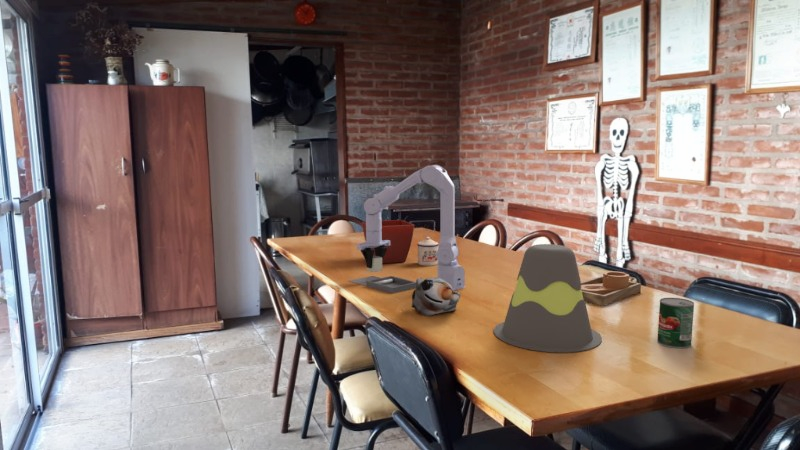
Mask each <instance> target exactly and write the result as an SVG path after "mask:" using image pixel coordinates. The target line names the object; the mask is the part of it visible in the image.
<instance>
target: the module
mask: <svg viewBox="0 0 800 450" xmlns="http://www.w3.org/2000/svg"><path fill="white" fill-rule="evenodd" d="M366 271H368V272H369V273H371V272H372V273H378V272H382V271H383V263H382V257H379V256H373V258H372V268H367V267H366Z"/></svg>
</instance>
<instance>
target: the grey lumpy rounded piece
mask: <svg viewBox="0 0 800 450" xmlns="http://www.w3.org/2000/svg"><path fill="white" fill-rule="evenodd" d="M415 282H416V288H414V289H413V291H412V295H411V303H412V304H411V307H412V308H413V309H414V310H415V311H416V313H417V314H419V315H423V316H427V315H428V317H431V316H434V315H436V314H437V315H438V314H440V313H447V312H455V311H456V310H457V305H458V303H459V300H460V298H461V292H459V291H457V290H454V291H453V288H452V286H451V285H450V284H449V283H448V282H446V281H445V280H443V279H441V278H437V277H428V278H425V279H423V278H422V277H418V278H417V279H416V281H415Z"/></svg>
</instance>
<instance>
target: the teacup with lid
mask: <svg viewBox="0 0 800 450" xmlns="http://www.w3.org/2000/svg"><path fill="white" fill-rule="evenodd" d="M416 245H417V264H418V265H420V266H426V267H428V266H429V267H431V266H436V265H437V266H438V260H437V257H436V253H437V251H438V249H439V242H437V241H434V240H433V239H431V237H430V236H426V237H425V239H423V240H421V241H418V242H417V244H416Z"/></svg>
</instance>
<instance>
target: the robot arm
mask: <svg viewBox="0 0 800 450" xmlns="http://www.w3.org/2000/svg"><path fill="white" fill-rule="evenodd" d="M422 183H425V184H426V185H427V184H428V185H429V186H432V187H433V188H435V189H436V190H437V191H438V192H439V194H440V198H439V199H440V201H439V202H440V212H439V213H440V219H439V220H440V225H439V226H440V236H439V242H438V246H439V248H438V251H437V253H436V257H437V260H438V264H437V277H436V278H441V279H443V280H445V281H446V282H448V283H449V284H450V285H451V286H452V288H453V292H454V291H457V290H462V289H465V288H467V287H466V286H465V285H466V284H465V282H466V281H465V280H466V279H465V278H466V277H465V276H466V275H465V274H466V273H465V272H466V271H465V268H464V267H463V266H462V265H460V264H459V261H458V259H457V258H458V256H459V254H460V249H459V247H458V245H457V238H456V236H455V235H456V234H455V233H456V231H455V230H456V229H455V225H456V224H455V222H456V220H455V217H456V215H455V211H456V210H455V209H456V207H455V206H456V205H455V204H456V203H455V202H456V201H455V198H456V195H455V194H456V190H455V188H456V187H455V184H454V182H453V181H452V179H451V178H450V175H449V174H448V171H447V170H446V169H445V168H443V167H442V166H441V165H439V164H432V165H426V166H424V167H423V168H421V169H419V170H416V171H415V172H413V173H412V174H410V175H409V176H408V177H406V178H405V179H403V180H402V181H401V182H399V183H398V184H396V185H395V186H393V185H389V186H388V185H386V186H384V187H383V188H382V189H383V190H381V191H380V192H378V193H375V194H373V198H372V197H369V198H367V199H366V200H365V201H364V203H363V210H364V212H365V222H366V241H365V242H363V243H362V242H361V243H357V244H356V250H358V251H360V252H361V254H362V256H363V258H364V261H365V265H366V269H367V268H372V258H373V253H374V250H375V254H376V256H379V257H382V261H383V258H384V255H385V253H386V251H387V247H385V246H390V240H382V221H383V219H382V213H383V210H384V209H385V208H387V207H388V206H391V204H393V203H394V202H396V201H397V200H399V198H400V194H403V192H405V191H406V190H409V189H410V188H412V187H413V186H415V185H417V184H422ZM371 248H374V250H371Z"/></svg>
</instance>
